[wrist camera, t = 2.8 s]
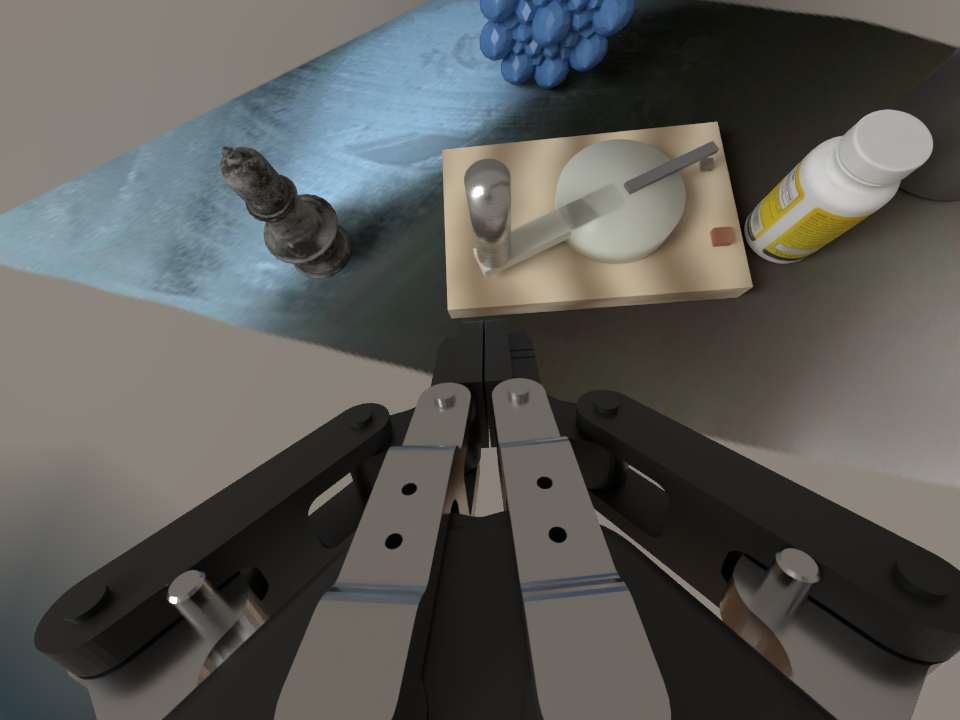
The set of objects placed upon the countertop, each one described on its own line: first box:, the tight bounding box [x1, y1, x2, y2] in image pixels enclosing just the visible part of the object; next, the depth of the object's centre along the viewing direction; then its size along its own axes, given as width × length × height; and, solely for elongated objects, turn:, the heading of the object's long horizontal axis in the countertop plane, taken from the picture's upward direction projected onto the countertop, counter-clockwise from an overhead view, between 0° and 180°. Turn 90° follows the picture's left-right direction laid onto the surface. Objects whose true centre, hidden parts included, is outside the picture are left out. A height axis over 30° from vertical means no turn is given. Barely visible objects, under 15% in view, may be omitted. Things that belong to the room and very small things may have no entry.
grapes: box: [480, 0, 636, 89], centre depth 30 cm, size 12×7×12 cm, turn 82°
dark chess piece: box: [220, 147, 352, 279], centre depth 28 cm, size 6×6×12 cm
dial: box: [464, 139, 719, 278], centre depth 26 cm, size 19×9×10 cm, turn 115°
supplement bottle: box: [744, 110, 933, 264], centre depth 27 cm, size 5×5×10 cm
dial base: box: [442, 122, 753, 318], centre depth 31 cm, size 22×14×3 cm, turn 93°
